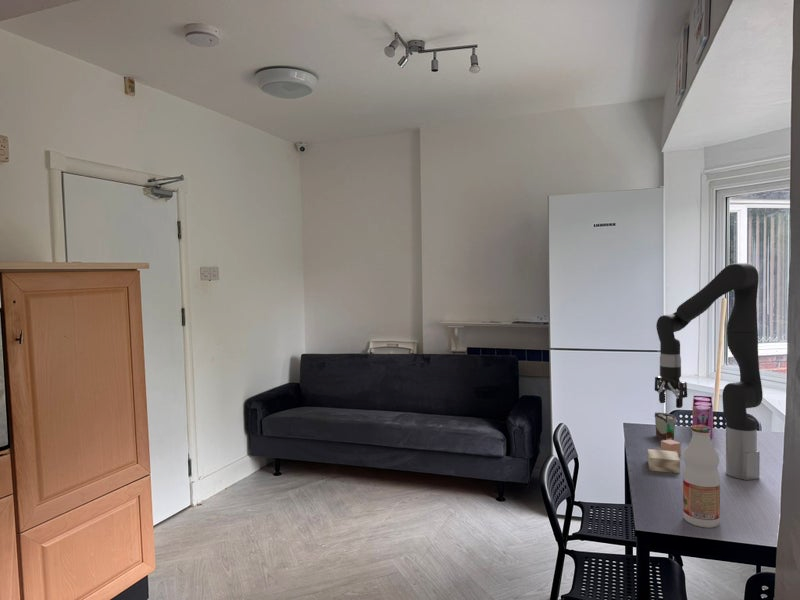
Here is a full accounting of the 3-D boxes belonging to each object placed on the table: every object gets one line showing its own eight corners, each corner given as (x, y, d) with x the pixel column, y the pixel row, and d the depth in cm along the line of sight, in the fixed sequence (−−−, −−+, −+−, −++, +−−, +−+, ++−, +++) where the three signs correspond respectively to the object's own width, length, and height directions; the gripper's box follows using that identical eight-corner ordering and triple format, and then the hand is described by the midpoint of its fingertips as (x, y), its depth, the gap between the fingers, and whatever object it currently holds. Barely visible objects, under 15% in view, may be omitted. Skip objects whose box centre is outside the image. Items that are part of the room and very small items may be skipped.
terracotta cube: (680, 455, 209) (680, 443, 209) (670, 457, 208) (670, 444, 208) (670, 451, 214) (670, 439, 214) (660, 453, 213) (660, 440, 213)
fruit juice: (704, 531, 149) (704, 433, 148) (675, 517, 158) (675, 425, 156) (727, 524, 152) (727, 429, 151) (698, 511, 161) (698, 420, 160)
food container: (682, 442, 224) (682, 419, 224) (667, 443, 224) (667, 419, 224) (668, 433, 237) (668, 411, 236) (654, 434, 237) (654, 412, 236)
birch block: (676, 464, 201) (676, 451, 200) (679, 474, 191) (679, 460, 191) (647, 461, 204) (647, 449, 204) (649, 470, 195) (649, 457, 195)
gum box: (713, 439, 227) (713, 408, 226) (692, 437, 231) (691, 406, 230) (712, 425, 248) (712, 396, 247) (693, 423, 251) (693, 395, 251)
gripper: (692, 366, 204) (692, 408, 204) (664, 361, 217) (664, 400, 218) (676, 368, 201) (677, 410, 202) (649, 362, 215) (649, 402, 216)
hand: (670, 405), depth 210 cm, fingers open, 8 cm apart
